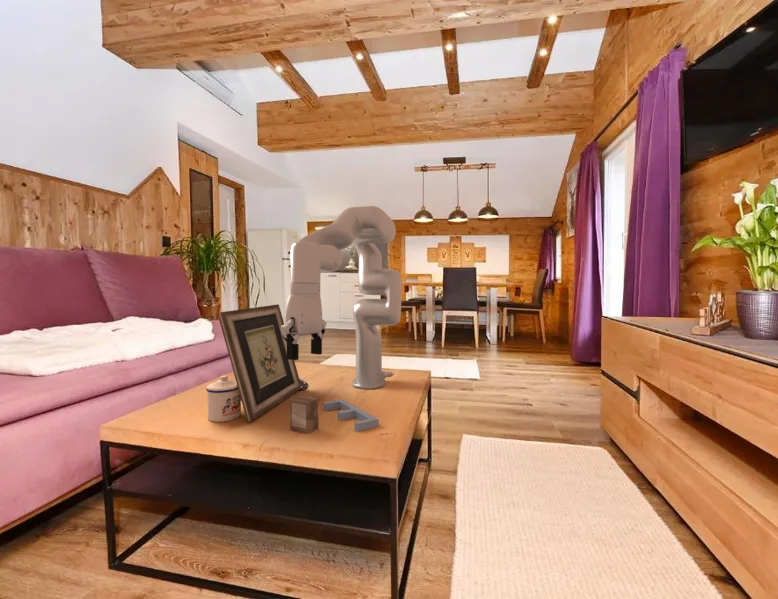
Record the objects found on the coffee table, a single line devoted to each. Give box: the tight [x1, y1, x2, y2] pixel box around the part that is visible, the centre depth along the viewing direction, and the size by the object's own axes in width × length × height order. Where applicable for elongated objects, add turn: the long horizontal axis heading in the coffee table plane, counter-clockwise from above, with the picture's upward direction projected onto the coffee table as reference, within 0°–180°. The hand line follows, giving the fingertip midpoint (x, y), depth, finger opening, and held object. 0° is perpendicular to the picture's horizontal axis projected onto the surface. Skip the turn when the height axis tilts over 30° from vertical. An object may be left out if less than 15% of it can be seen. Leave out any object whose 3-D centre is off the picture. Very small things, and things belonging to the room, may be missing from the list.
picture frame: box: [216, 304, 302, 423], centre depth 122 cm, size 33×10×30 cm, turn 168°
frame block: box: [289, 395, 319, 435], centre depth 101 cm, size 4×6×8 cm
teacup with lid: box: [205, 375, 242, 423], centre depth 111 cm, size 12×9×12 cm
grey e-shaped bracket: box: [323, 398, 380, 432], centre depth 110 cm, size 6×20×2 cm, turn 34°
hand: (305, 356), depth 101 cm, fingers open, 9 cm apart
